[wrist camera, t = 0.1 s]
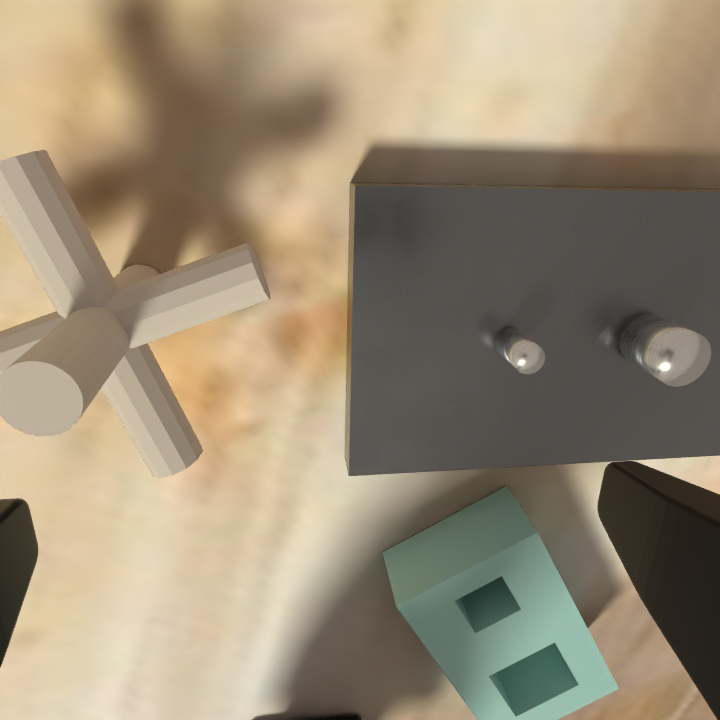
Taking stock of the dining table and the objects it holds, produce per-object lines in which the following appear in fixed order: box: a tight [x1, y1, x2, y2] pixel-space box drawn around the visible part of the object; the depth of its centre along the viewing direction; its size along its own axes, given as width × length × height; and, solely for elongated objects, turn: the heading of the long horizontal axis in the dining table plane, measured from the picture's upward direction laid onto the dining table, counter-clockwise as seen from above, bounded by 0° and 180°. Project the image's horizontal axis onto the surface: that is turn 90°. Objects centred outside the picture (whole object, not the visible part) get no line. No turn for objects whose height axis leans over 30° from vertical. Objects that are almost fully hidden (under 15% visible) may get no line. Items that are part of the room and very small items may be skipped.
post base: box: [345, 183, 720, 476], centre depth 23 cm, size 12×18×4 cm, turn 88°
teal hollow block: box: [382, 486, 619, 720], centre depth 28 cm, size 12×7×4 cm, turn 28°
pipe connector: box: [0, 150, 270, 478], centre depth 17 cm, size 10×10×10 cm
